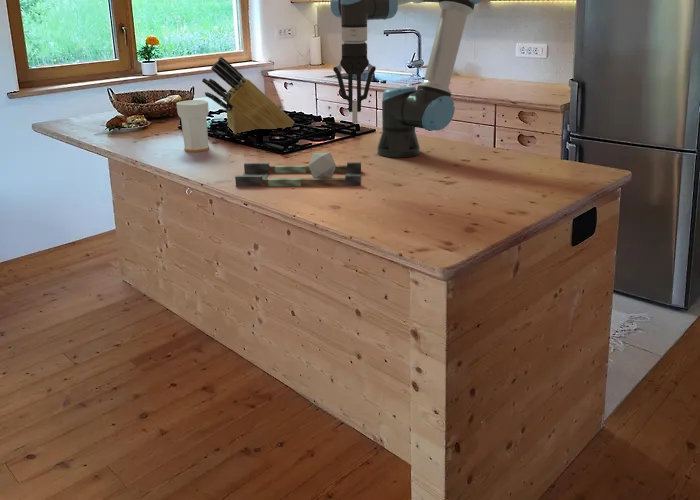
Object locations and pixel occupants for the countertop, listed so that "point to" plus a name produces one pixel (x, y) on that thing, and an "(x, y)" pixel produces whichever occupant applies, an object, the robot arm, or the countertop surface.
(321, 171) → the die
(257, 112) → the knife block
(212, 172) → the countertop surface
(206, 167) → the countertop surface
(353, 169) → the trap channel
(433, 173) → the countertop surface
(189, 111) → the cup
